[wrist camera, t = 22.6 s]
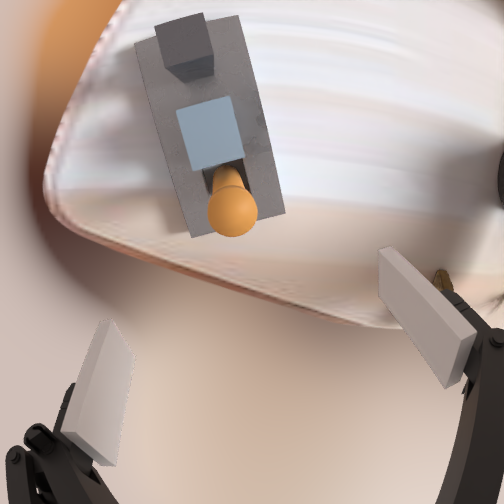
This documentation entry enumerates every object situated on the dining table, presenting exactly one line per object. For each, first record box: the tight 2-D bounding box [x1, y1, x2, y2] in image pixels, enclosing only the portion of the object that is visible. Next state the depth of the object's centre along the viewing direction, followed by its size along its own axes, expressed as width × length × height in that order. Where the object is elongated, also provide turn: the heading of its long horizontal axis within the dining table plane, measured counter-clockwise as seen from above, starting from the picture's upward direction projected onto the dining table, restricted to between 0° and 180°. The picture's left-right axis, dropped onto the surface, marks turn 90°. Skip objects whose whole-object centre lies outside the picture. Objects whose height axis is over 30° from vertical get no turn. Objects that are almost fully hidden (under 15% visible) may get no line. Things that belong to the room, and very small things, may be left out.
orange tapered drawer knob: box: [207, 165, 258, 237], centre depth 32 cm, size 4×4×14 cm
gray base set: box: [134, 13, 285, 238], centre depth 28 cm, size 25×12×16 cm, turn 13°
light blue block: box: [176, 96, 245, 171], centre depth 30 cm, size 6×5×7 cm
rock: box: [432, 270, 454, 292], centre depth 48 cm, size 11×9×10 cm
